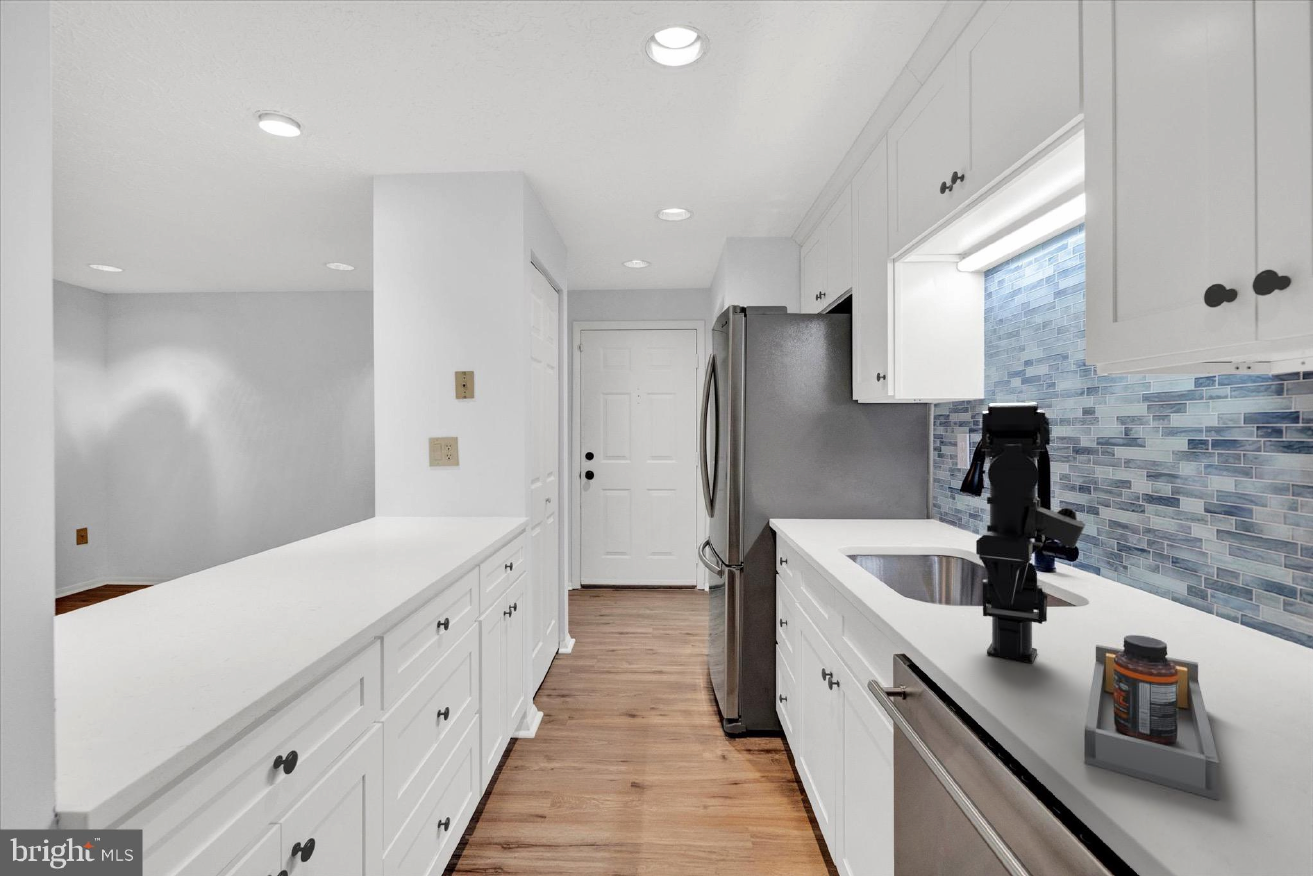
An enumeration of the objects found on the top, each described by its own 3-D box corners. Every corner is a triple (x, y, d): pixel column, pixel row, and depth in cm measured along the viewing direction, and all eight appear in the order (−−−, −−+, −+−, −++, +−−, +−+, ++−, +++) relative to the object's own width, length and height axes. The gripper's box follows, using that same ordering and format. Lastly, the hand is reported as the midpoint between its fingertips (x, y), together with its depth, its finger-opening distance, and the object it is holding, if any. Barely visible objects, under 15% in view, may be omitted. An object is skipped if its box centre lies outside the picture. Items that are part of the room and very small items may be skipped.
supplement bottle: (1103, 719, 75) (1103, 630, 75) (1159, 724, 74) (1159, 633, 73) (1129, 744, 69) (1129, 647, 69) (1189, 749, 68) (1190, 650, 68)
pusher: (1106, 681, 85) (1106, 647, 85) (1185, 697, 80) (1185, 661, 80) (1105, 691, 82) (1105, 655, 82) (1187, 708, 77) (1187, 670, 77)
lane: (1095, 684, 87) (1096, 644, 87) (1197, 705, 80) (1197, 662, 80) (1084, 762, 67) (1084, 711, 67) (1218, 800, 60) (1219, 743, 60)
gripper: (1075, 499, 74) (1075, 624, 74) (1085, 487, 89) (1084, 592, 89) (975, 494, 81) (975, 608, 81) (999, 483, 96) (999, 580, 96)
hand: (1012, 596), depth 87 cm, fingers open, 9 cm apart
